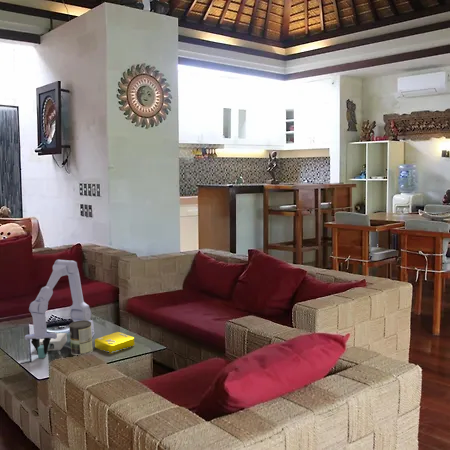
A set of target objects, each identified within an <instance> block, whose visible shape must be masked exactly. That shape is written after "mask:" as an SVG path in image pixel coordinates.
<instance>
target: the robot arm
mask: <svg viewBox="0 0 450 450" xmlns="http://www.w3.org/2000/svg"><path fill="white" fill-rule="evenodd" d="M64 276H68V283H69V289H70V294H71V300H72V305H70V307H69V309H70V311H69V317H70V318H71V320H72V322H76V321H83V320H85V321H90V322H91V333H92V338H93V337H94V336H95V334H96V333H95V328H94V327H95V325H94V320H93V319H92V320H91V318H92V311H91V309H90V305H89V304H87V303H86V302H85V300H84V296H83V290H82V284H81V283H82V282H81V276H80V272H79V268H78V261H76V260H67V259H56V260H55V261H54V264H53V265H52V272H51V274H50V276H49V279H48V281H47V283H46V285H45V286H42V287H41V288H40V290H39V293H38V294H37V296H36V298H35V300H33V301H31V302H30V304H29V308H28V311H29V312H30V313H31V316H32V324H33V325H32V327H33V333H32V334H31V333H29V334H26V335H24V340H25V341H27V340H28V341H29V340H31V344H32V346H33V347H34V349H35V351H36V354H37V355H38V347H39V346H40V339H44V340H43V345H44V353H45V354H47V355H48V351H49V350H48V345H49V342H50V340H51V339H52V338H54V339H56V338H57V334H53V333H52V332H48V331H47V320H46V319H47V318H46V312H47V311H48V308H49V307H48V305H49V301H50V299H51V298H52V296H53V294H54V291H53V290H54V288H55V286H56V285H57V284H58V281H59V280H60V278H61V277H64ZM47 350H48V351H47Z"/></svg>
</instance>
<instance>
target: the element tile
mask: <svg viewBox="0 0 450 450" xmlns="http://www.w3.org/2000/svg"><path fill="white" fill-rule="evenodd" d="M133 345H134V346H135V345H136V344H135V337H134V336H132V335H129V334H126V333H123V332H119V331H116V332H113V333H110V334H107V335H106V334H105V335H103V336H101V337H97V338H95V339H94V347H95V349H98V350H100V351H102V350H105V351H109V352H112V351H116V350H120V349H123V348H127V347H130V346H133ZM134 346H133V347H134ZM130 348H131V347H130ZM127 349H128V348H127Z"/></svg>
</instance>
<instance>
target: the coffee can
mask: <svg viewBox="0 0 450 450" xmlns="http://www.w3.org/2000/svg"><path fill="white" fill-rule="evenodd" d="M68 328H69V338H70V339H69V340H70V341H69V342H70V353H71V355H73V356H76V357H77V355H81V354H86V353H90V354H91V353H93V352H94V349H93V347H94V346H93V337H92V333H91V322H90V321H85V320H83V321H76V322H74V321H72V322H70V323H69V324H68Z"/></svg>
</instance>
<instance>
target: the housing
mask: <svg viewBox="0 0 450 450" xmlns="http://www.w3.org/2000/svg"><path fill="white" fill-rule="evenodd" d="M54 333H55V334H57V338H56V339H54V338H52V339H51V340H50V342H49V344H52V346H51V347H50V348H49V349H48V351H61V350H62V349H63V348H64V346H65V345H66V343H68V335H67V332H58V333H57V332H54ZM43 340H44V339H40V345H43Z"/></svg>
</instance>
